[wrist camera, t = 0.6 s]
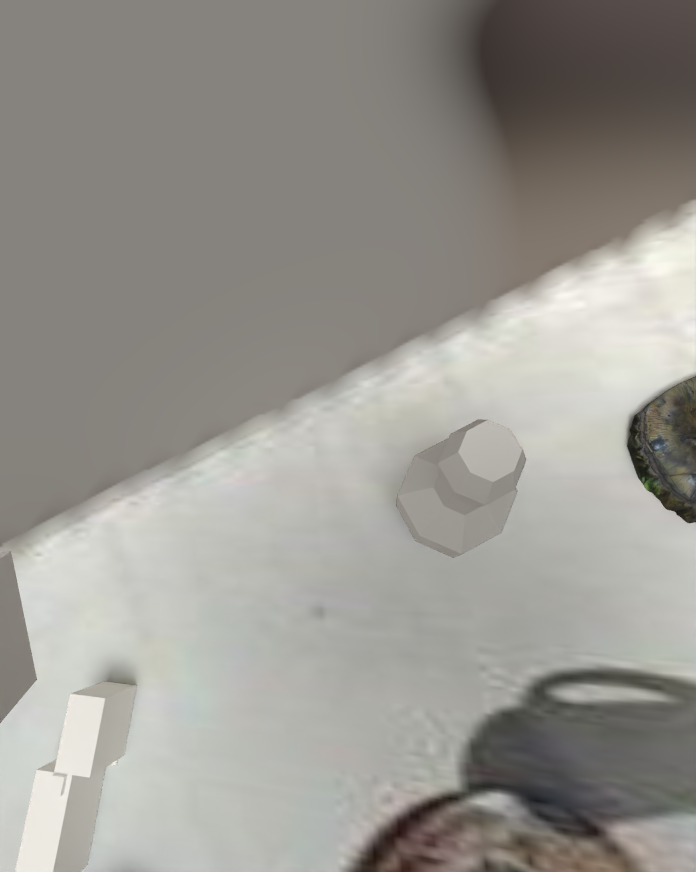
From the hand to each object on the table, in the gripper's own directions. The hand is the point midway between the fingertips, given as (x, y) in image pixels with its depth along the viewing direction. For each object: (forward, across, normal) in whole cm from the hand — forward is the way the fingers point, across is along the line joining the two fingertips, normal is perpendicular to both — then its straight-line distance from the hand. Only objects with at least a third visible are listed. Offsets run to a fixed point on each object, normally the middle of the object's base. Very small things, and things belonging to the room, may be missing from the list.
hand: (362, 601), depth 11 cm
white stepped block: (+25, +19, +26) cm, 40 cm away
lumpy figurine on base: (+33, -26, +7) cm, 42 cm away
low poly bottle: (+31, -6, +11) cm, 33 cm away
